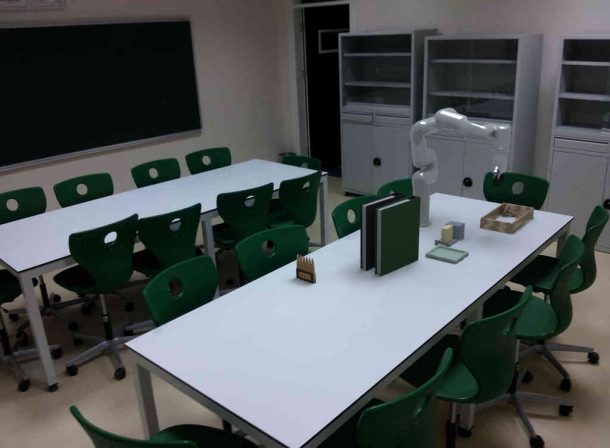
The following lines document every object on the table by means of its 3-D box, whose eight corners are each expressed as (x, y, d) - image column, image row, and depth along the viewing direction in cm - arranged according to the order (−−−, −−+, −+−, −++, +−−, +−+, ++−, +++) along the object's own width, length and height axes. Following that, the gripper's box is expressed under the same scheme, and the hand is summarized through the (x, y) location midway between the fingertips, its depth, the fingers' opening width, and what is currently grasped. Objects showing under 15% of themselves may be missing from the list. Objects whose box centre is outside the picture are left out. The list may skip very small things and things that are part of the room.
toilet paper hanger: (512, 234, 299) (517, 222, 295) (496, 227, 302) (501, 216, 298) (517, 219, 320) (522, 208, 316) (502, 213, 323) (507, 202, 319)
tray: (425, 256, 265) (425, 253, 264) (438, 248, 275) (438, 244, 274) (455, 264, 255) (456, 260, 254) (468, 254, 265) (468, 251, 264)
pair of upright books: (382, 277, 244) (382, 210, 234) (358, 268, 255) (357, 204, 244) (418, 260, 261) (420, 197, 251) (394, 252, 272) (395, 191, 261)
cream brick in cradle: (440, 244, 280) (441, 228, 277) (446, 240, 285) (447, 224, 282) (446, 245, 278) (447, 229, 275) (452, 241, 283) (453, 225, 280)
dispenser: (434, 244, 279) (434, 230, 277) (450, 234, 293) (450, 220, 290) (448, 247, 274) (449, 233, 272) (463, 237, 288) (464, 223, 285)
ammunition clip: (316, 282, 242) (315, 258, 238) (313, 284, 240) (312, 259, 236) (298, 276, 248) (297, 252, 245) (296, 277, 247) (294, 253, 243)
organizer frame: (479, 228, 300) (480, 217, 298) (502, 212, 325) (503, 202, 323) (512, 234, 289) (513, 223, 287) (533, 217, 314) (534, 207, 312)
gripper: (498, 146, 277) (495, 179, 282) (488, 153, 263) (486, 187, 269) (513, 148, 273) (510, 180, 278) (504, 154, 259) (501, 188, 265)
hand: (498, 183), depth 274 cm, fingers open, 9 cm apart
